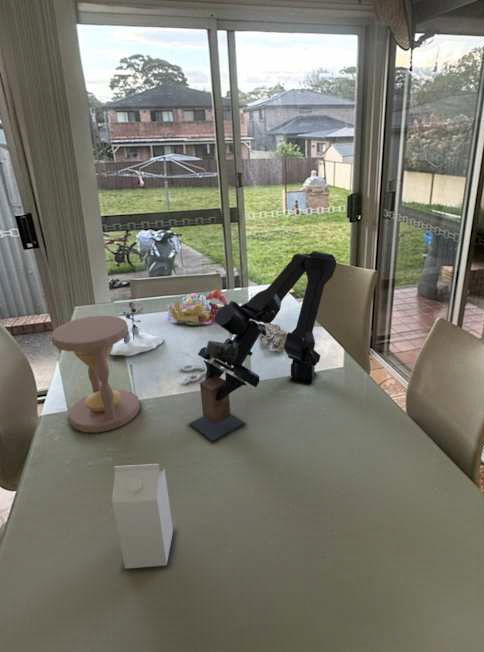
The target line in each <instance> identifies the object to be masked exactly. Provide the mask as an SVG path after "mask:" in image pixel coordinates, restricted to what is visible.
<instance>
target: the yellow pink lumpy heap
mask: <svg viewBox="0 0 484 652" xmlns="http://www.w3.org/2000/svg"><path fill="white" fill-rule="evenodd" d="M212 299H215V300H218V301H219V302H221V303H222V304H219V303H214V302H213V301H211V300H212ZM181 301H182V303H180V302H179V301H174V302H173V303H172V302H170V304H169V303H167V311H168V313H167V318H168V319H169V321H170V323H173V324H186V325H190V326H194V325H195V326H198V325H199V326H200V325H209V324H211V323H216V322H215V315H216V312H217V311H218V309H220V308H221V307H223V306H224V305H227V304H228V302H227V300H226V297H225V296H224V295H222V291H220V290H219V289H213V291H212V292H209V293H207V295H206V296H205V295H204V294H203V295H202V294H201V295H198V293H196V292H193V293H188V294H187V296H184V297H182V298H181Z"/></svg>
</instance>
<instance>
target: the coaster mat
mask: <svg viewBox="0 0 484 652" xmlns="http://www.w3.org/2000/svg"><path fill="white" fill-rule="evenodd" d="M243 426H245V422H244V421H242V420H241V419H239V418H237V417H236V416H235V415H233V414H231V413H230V417H228V418H226V419H224V420H222V421H220V422H219V423H217V424H213V423H212V422H210V421H209V420H208V419H206V418H205V417H203V416H201V417H199V418H198V419H196V420H195V419H194V420H193V421H191V422H190V423H189V427H191V428H193V429H194V430H195V431H196V432H198V433H199V434H201V435H202V436H203V437H205V438H206V439H207V440H209V441H210V442H211V443H215V442H217V441H219V440H221V439H222V438H224V437H226V436H228V435H229V434H231V433H233V432H234V431H236V430H238V429H240V428H242V427H243Z"/></svg>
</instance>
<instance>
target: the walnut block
mask: <svg viewBox="0 0 484 652" xmlns="http://www.w3.org/2000/svg"><path fill="white" fill-rule="evenodd" d="M224 382H225V379H224V378H222V377H218V376H216V375H215V376H213V377H211V378H209V379H207V380H205V379H204V380H202V381H200V382H199V386H200V387H199V389H200V398H201V409H202V410H201V411H202V417H205V418H206V419H208V420H209V421H210V422H212V423H213V424H217V423H219V422H220V421H222V420H224V419H226V418H228V417H230V414H231V404H230V402H231V401H230V394H228V395H227V396H226V397H224V398H223V399H221V400H220V401H217V400H216V397H217V395H218V393H219V391H220V389H221V387H222V385H223V383H224Z"/></svg>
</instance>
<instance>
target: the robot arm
mask: <svg viewBox="0 0 484 652" xmlns="http://www.w3.org/2000/svg"><path fill="white" fill-rule="evenodd" d="M336 267H337V260H336V257H335V255H334V254H332V253H326V252H322V251H318V250H314V251H313V250H312V252H310V253H295V254H293V256H292V257H291V260H290V261H289V262H288V264H287V265H286V266H285V267H284V268H283V270H282V271H280V273H279V274H278V275H277V276H276V277H275V278H274V280H273V281H272V283H270V285H268V287H266V289H263V290H260V291H259V292H257V293H255V294H254V295H253V296H252V297H251V298H250V299H249V300H248V301H247V302H245V303H243V304H242V305H240V304H239V303H237V302H236V301H234V300H230V301H229V302H228V303H227V305H224V306H223V307H221V308H220V309H218V311H217V312H216V315H215V322H214V323H216V325H218V326H219V327H220V328H222V329H223V330H225V331H226V332H228V333H229V334H230V335H233V336H232V337H231V338H226V339H225V340H224V342H220V341H214V340H208V341H207V343H206V346H204V347H202V348H200V350H199V352H198V353H197V356H199V357H201V358H202V359H204V360H203V363H204V364H205V367H207V373H205V379H204V380H207V379H209V378H211V377H213V376H215V375H216V376H218V377H220V378H222V376H223V375H224V373H225V379H224V380H225V382H224V383H223V385H222V387H221V389H220V391H219V393H218V395H217V397H216V400H217V401H220V400H221V399H223V398H224V397H226V396H227V395H228V394H229V395H230V394H231V393H233V392H234V391H236V390H237V389H239V388H241V387H243V386H247V384H249V385H251V386H252V387H254V388H257V387H258V385H259V383H260V375H258V374H257V373H255V372H254V371H252V370H251V369H250V368H247V367H245V366H244V362H245V361H246V359H247V357H248V356H249V357H252V355H253V354H254V353H253V352H252V351H251V350H252V349H253V347H254V346H255V344H256V342H257V341H258V339H259V337H260V336H261V334H262V335H264V336H266V330H265V325H263V324H264V323H272V322H273V321H274V320H275V318H276V317H277V315H278V314H279V312H280V311H281V306H282V302H283V300H284V298H285V297H286V296H287V295H288V293H289V292H290V291H291V290H292V288H294V286H295V285H296V284H297V283H298V282H299V280H300V279H301V278H302V277H303V275H304V274H305V273H306V274H305V275H306V278H307V283H306V287H305V291H304V295H303V299H302V303H301V306H300V310H299V315H298V319H297V323H296V326H295V328H294V329H293V330H292V331H291V332H287V337H286V341H285V344H284V345H285V349H284V351H285V354H286V355H287V358H288V359H290V360H292V361H291V364H290V382H294V383H298V384H299V383H300V384H306V385H311V384H312V383H313V381H314V380H315V378H316V376H317V373H316V372H315V371H316V366H317V364H318V363H320V360H321V354H320V353H318V352H317V351H316V350H315V346H316V341H315V336H314V333H313V331H314V327H315V323H316V319H317V315H318V313H319V312H318V311H319V307H320V304H321V300H322V296H323V292H324V288H325V285H326V284H327V283H328V282H329V281H330V280H331V279H332V278H333V275H334V273H335V270H336ZM226 363H227V364H226ZM221 366H222V367H224V369H226V370H228V371H230V372H231V373H228V372H225V371H224V370H223V369H220V368H221ZM232 366H233V367H232Z"/></svg>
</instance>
